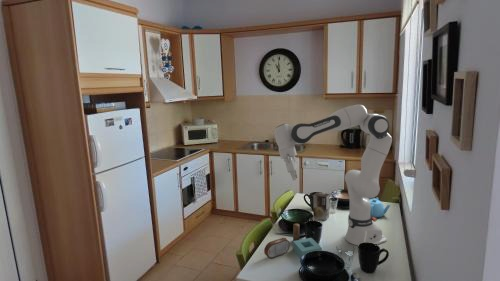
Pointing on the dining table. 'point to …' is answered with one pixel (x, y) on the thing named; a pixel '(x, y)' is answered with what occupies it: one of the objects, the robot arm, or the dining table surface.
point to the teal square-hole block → (305, 246)
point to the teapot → (377, 208)
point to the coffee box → (321, 206)
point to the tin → (276, 247)
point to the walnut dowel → (296, 232)
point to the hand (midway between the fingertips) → (295, 179)
